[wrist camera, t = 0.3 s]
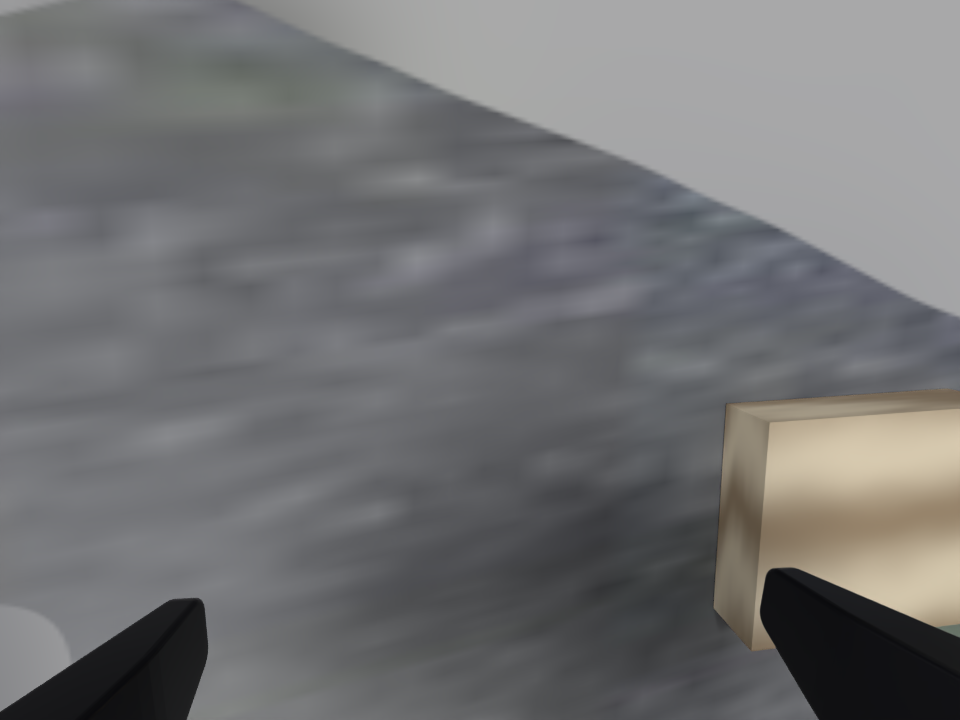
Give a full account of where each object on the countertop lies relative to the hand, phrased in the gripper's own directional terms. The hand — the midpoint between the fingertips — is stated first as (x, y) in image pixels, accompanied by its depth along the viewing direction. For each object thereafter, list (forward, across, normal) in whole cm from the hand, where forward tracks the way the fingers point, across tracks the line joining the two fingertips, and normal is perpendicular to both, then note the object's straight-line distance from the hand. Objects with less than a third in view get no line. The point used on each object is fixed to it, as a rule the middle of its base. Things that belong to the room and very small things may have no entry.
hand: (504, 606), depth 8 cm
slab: (+14, -20, +6) cm, 25 cm away
